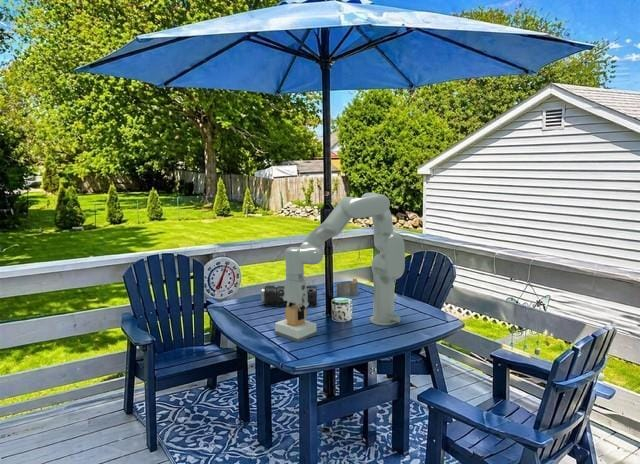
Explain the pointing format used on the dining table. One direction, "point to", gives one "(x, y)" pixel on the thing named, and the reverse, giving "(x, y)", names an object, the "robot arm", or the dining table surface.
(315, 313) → the dining table surface
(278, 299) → the muzzle brake
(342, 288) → the ruin model on sheet
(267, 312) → the dining table surface
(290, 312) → the plug
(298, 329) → the socket block
